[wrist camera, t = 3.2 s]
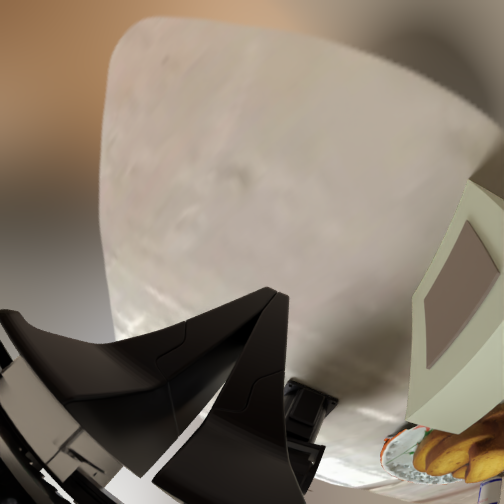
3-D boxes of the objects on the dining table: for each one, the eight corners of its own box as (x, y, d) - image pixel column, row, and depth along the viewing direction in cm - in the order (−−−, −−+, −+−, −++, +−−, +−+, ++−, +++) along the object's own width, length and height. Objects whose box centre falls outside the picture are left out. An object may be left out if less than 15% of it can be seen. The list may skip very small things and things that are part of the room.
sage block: (450, 314, 18) (458, 434, 9) (409, 296, 19) (401, 419, 10) (510, 204, 12) (589, 293, 4) (465, 177, 14) (540, 252, 5)
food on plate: (350, 441, 32) (337, 479, 26) (499, 351, 17) (509, 406, 12) (445, 477, 27) (439, 507, 22) (560, 414, 13) (564, 449, 7)
